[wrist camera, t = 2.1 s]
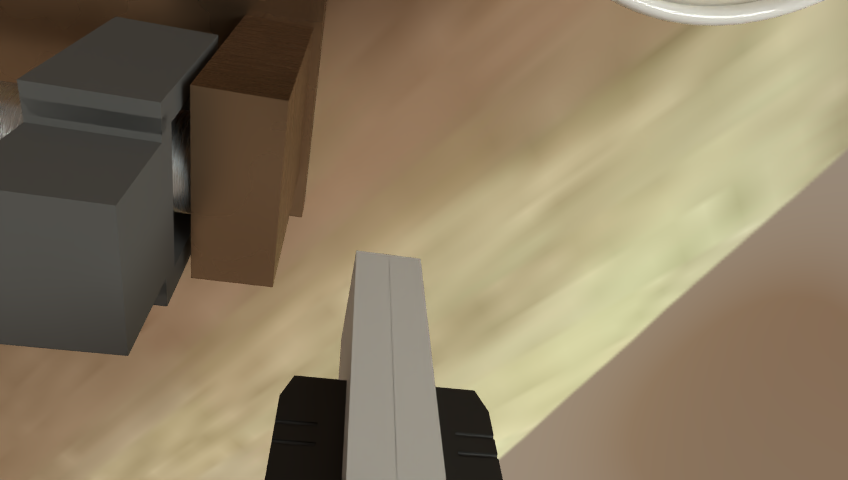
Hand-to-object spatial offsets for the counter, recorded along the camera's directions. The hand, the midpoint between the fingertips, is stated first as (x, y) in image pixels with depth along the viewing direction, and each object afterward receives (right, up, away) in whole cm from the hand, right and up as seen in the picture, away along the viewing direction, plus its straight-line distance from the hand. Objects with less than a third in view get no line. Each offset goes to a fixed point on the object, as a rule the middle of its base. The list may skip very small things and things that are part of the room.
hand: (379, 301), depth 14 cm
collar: (-7, +6, +6) cm, 11 cm away
